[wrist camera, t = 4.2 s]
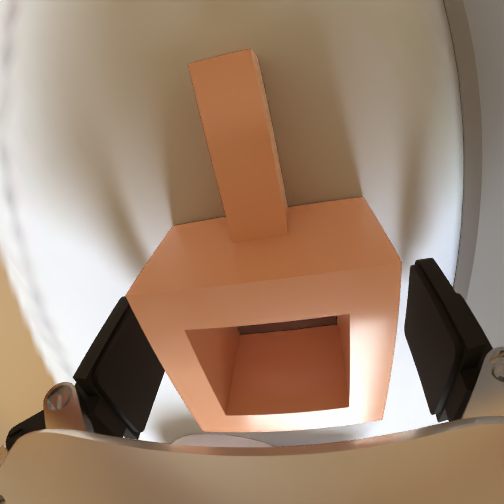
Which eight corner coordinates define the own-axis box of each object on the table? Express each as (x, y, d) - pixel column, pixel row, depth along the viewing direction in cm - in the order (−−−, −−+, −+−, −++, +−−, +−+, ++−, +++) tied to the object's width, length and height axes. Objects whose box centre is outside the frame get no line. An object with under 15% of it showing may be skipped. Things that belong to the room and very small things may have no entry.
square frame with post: (365, 341, 13) (382, 419, 9) (220, 355, 14) (203, 431, 10) (341, 45, 8) (379, 20, 4) (133, 90, 9) (55, 103, 5)
